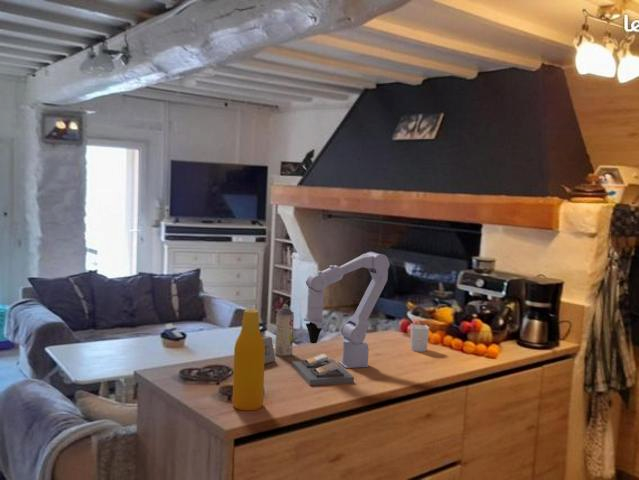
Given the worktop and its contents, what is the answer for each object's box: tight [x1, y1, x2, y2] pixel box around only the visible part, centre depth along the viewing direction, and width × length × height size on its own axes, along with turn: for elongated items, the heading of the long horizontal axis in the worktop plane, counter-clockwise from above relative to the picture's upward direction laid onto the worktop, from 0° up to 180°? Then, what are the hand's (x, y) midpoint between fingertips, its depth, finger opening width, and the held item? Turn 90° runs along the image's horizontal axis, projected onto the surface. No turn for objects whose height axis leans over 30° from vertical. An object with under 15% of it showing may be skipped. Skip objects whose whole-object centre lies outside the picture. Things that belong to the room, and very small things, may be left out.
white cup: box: [410, 324, 430, 353], centre depth 253 cm, size 8×8×10 cm
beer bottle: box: [231, 309, 265, 411], centre depth 179 cm, size 9×9×29 cm
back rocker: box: [306, 353, 329, 365], centre depth 219 cm, size 7×4×2 cm, turn 108°
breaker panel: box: [291, 358, 355, 386], centre depth 214 cm, size 16×22×4 cm
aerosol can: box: [274, 304, 295, 358], centre depth 236 cm, size 7×7×20 cm
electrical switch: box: [262, 336, 276, 365], centre depth 225 cm, size 9×5×9 cm, turn 141°
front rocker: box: [316, 361, 338, 375], centre depth 208 cm, size 7×4×2 cm, turn 108°
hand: (313, 342), depth 220 cm, fingers closed
